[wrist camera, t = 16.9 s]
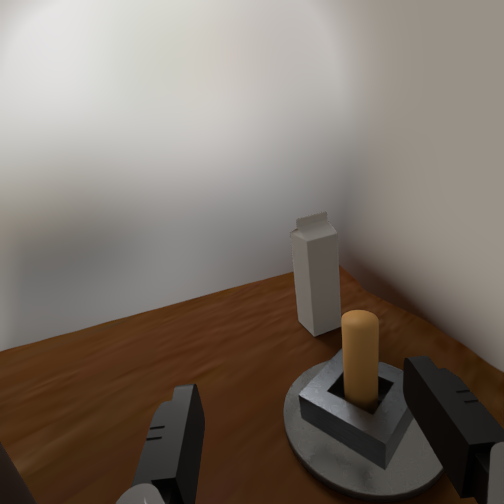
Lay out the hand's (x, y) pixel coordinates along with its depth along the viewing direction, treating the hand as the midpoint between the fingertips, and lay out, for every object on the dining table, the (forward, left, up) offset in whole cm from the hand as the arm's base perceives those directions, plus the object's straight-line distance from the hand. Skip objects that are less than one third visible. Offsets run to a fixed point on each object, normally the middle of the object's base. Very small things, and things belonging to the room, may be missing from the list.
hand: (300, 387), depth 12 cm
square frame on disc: (-9, +22, -28) cm, 36 cm away
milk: (-25, +37, -28) cm, 52 cm away
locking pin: (-9, +22, -27) cm, 35 cm away
